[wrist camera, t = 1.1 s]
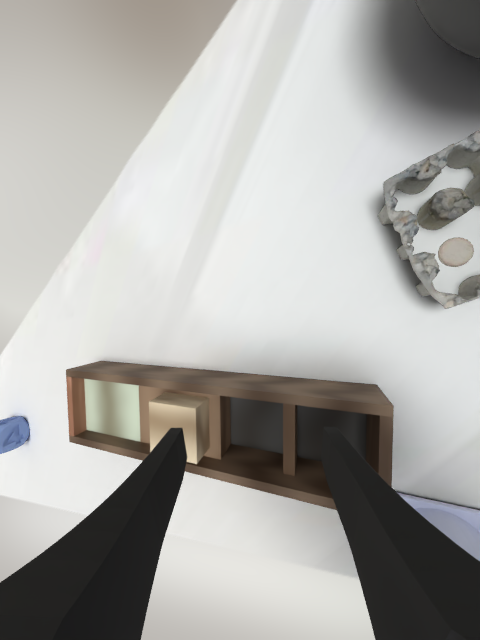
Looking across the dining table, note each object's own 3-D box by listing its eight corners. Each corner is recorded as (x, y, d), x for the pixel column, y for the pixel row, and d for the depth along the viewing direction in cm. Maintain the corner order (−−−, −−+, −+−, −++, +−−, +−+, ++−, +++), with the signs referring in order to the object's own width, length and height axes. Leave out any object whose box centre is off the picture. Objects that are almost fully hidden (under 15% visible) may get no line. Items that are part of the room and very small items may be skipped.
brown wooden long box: (376, 384, 20) (393, 406, 16) (374, 478, 20) (390, 523, 16) (101, 360, 30) (66, 369, 26) (103, 423, 31) (69, 441, 26)
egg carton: (530, 275, 17) (597, 266, 13) (416, 313, 19) (442, 315, 15) (468, 148, 17) (513, 102, 13) (365, 200, 20) (378, 174, 16)
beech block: (209, 447, 22) (197, 464, 20) (166, 438, 24) (150, 453, 21) (208, 397, 22) (195, 408, 20) (165, 392, 24) (148, 401, 21)
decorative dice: (28, 416, 36) (-5, 429, 32) (31, 441, 36) (-2, 456, 32) (13, 415, 37) (-21, 427, 34) (15, 439, 37) (-18, 453, 34)
